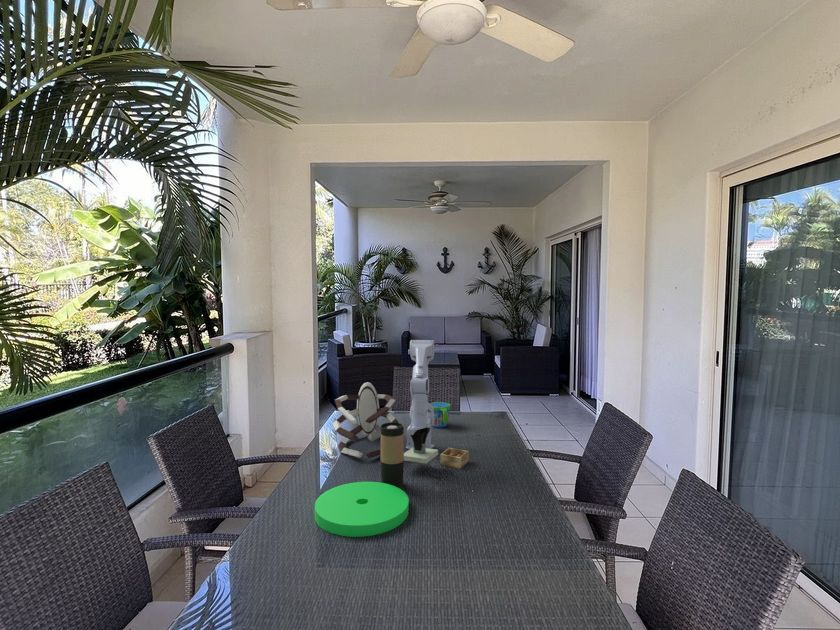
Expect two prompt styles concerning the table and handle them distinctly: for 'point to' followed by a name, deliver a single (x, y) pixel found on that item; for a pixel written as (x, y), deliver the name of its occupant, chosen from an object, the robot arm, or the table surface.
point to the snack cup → (441, 413)
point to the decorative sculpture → (363, 417)
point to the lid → (420, 454)
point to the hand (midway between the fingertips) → (419, 449)
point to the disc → (361, 509)
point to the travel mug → (392, 454)
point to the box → (454, 458)
